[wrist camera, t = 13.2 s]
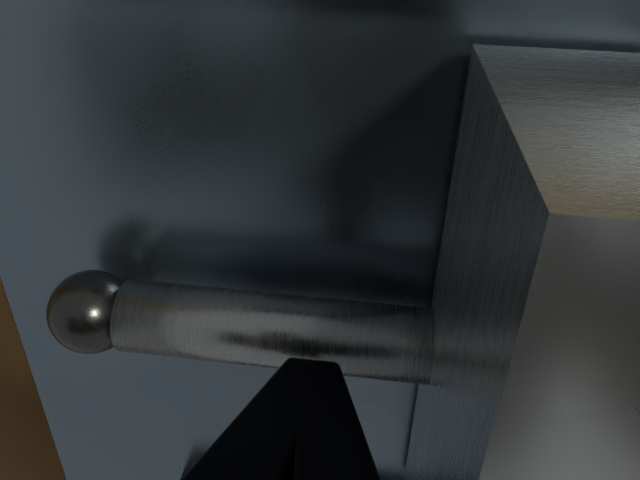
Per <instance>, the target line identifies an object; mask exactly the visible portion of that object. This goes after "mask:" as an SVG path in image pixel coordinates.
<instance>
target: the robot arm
mask: <svg viewBox="0 0 640 480" xmlns="http://www.w3.org/2000/svg"><path fill="white" fill-rule="evenodd" d="M181 480H381V479H380V476H379V473H378V471H377V468H376V465H375V462H374V460H373V457H372V454H371V451H370V448H369V446H368V443H367V440H366V437H365V434H364V432H363V429H362V426H361V423H360V421H359V418H358V415H357V412H356V409H355V407H354V404H353V401H352V398H351V395H350V393H349V390H348V387H347V384H346V382H345V379H344V376H343V373H342V370H341V368H340V366H339V364H338V363H337V362H333V361H324V360H313V359H305V358H295V357H291V358H288V359H287V360H286V361H285V362H284V363H283V364H282V365H281V366H280V368H279V369H278V370H277V371H276V372H275V373H274V374H273V376H272V377H271V378H270V379H269V380H268V381H267V382H266V384H265V385H264V386H263V387H262V388H261V389H260V390H259V392H258V393H257V394H256V395H255V396H254V397H253V398H252V400H251V401H250V402H249V403H248V404H247V405H246V406H245V407H244V409H243V410H242V411H241V412H240V413H239V414H238V415H237V417H236V418H235V419H234V420H233V421H232V422H231V423H230V425H229V426H228V427H227V428H226V429H225V430H224V431H223V433H222V434H221V435H220V436H219V437H218V438H217V439H216V441H215V442H214V443H213V444H212V445H211V446H210V447H209V449H208V450H207V451H206V452H205V453H204V454H203V455H202V456H201V458H200V459H199V460H198V461H197V462H196V463H195V464H194V466H193V467H192V468H191V469H190V470H189V471H188V472H187V474H186V475H185V476H184V477H183V478H182V479H181Z"/></svg>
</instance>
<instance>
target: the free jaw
mask: <svg viewBox="0 0 640 480" xmlns="http://www.w3.org/2000/svg"><path fill="white" fill-rule="evenodd" d="M46 319H47V324H48V327H49V330H50V332H51V334H52V335H53V337H54V338H55V339H56V340H57V341H58V342H59V343H60V344H61V345H62V346H64V347H65V348H67V349H69V350H71V351H74V352H77V353H82V354H97V353H101V352H105V351H107V350H110V349H112V348H115V349H116V350H117V351H120V352H129V353H138V354H147V355H156V356H166V357H175V358H184V359H193V360H202V361H211V362H221V363H230V364H239V365H248V366H257V367H266V368H276V369H279V368H280V366H281V365H282V364H283V363H284V362H285V361H286V360H287V359H288V358H291V357H295V358H305V359H313V360H324V361H333V362H337V363H338V364H339V366H340V368H341V370H342V373H343V376H349V377H358V378H367V379H377V380H386V381H395V382H404V383H413V384H419V386H418V392H417V399H416V405H415V411H414V418H413V424H412V430H411V437H410V443H409V449H408V456H407V462H406V468H405V475H404V480H640V53H631V52H612V51H593V50H574V49H555V48H536V47H517V46H497V45H478V44H473V45H472V51H471V57H470V64H469V70H468V76H467V83H466V89H465V95H464V102H463V108H462V114H461V121H460V127H459V133H458V140H457V146H456V152H455V159H454V165H453V171H452V177H451V184H450V190H449V196H448V203H447V209H446V215H445V222H444V228H443V234H442V241H441V247H440V253H439V260H438V266H437V272H436V279H435V285H434V291H433V298H432V304H431V308H426V307H415V306H405V305H395V304H384V303H374V302H364V301H353V300H343V299H332V298H322V297H312V296H301V295H291V294H280V293H270V292H260V291H249V290H239V289H229V288H218V287H208V286H197V285H187V284H177V283H166V282H156V281H146V280H135V279H129V280H127V281H125V282H124V281H123V280H122V279H120V278H119V277H117V276H116V275H114V274H112V273H109V272H106V271H102V270H85V271H81V272H77V273H75V274H72V275H70V276H69V277H67V278H65V279H64V280H63V281H62V282H61V283H59V284H58V285H57V287H56V288H55V289H54V291H53V292H52V294H51V296H50V298H49V301H48V304H47V309H46Z"/></svg>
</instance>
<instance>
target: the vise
mask: <svg viewBox="0 0 640 480" xmlns="http://www.w3.org/2000/svg"><path fill="white" fill-rule="evenodd" d="M473 44H478V45H497V46H517V47H536V48H555V49H574V50H593V51H612V52H631V53H640V0H0V277H1V280H2V283H3V286H4V289H5V292H6V295H7V298H8V302H9V305H10V308H11V311H12V314H13V317H14V320H15V323H16V326H17V329H18V332H19V335H20V338H21V341H22V344H23V348H24V351H25V354H26V357H27V360H28V363H29V366H30V369H31V372H32V375H33V378H34V381H35V384H36V387H37V391H38V394H39V397H40V400H41V403H42V406H43V409H44V412H45V415H46V418H47V421H48V424H49V427H50V430H51V433H52V437H53V440H54V443H55V446H56V449H57V452H58V455H59V458H60V461H61V464H62V467H63V470H64V473H65V476H66V479H67V480H181V479H182V478H183V477H184V476H185V475H186V474H187V472H188V471H189V470H190V469H191V468H192V467H193V466H194V464H195V463H196V462H197V461H198V460H199V459H200V458H201V456H202V455H203V454H204V453H205V452H206V451H207V450H208V449H209V447H210V446H211V445H212V444H213V443H214V442H215V441H216V439H217V438H218V437H219V436H220V435H221V434H222V433H223V431H224V430H225V429H226V428H227V427H228V426H229V425H230V423H231V422H232V421H233V420H234V419H235V418H236V417H237V415H238V414H239V413H240V412H241V411H242V410H243V409H244V407H245V406H246V405H247V404H248V403H249V402H250V401H251V400H252V398H253V397H254V396H255V395H256V394H257V393H258V392H259V390H260V389H261V388H262V387H263V386H264V385H265V384H266V382H267V381H268V380H269V379H270V378H271V377H272V376H273V374H274V373H275V372H276V371H277V370H278V369H276V368H266V367H257V366H248V365H239V364H230V363H221V362H211V361H202V360H193V359H184V358H175V357H166V356H156V355H147V354H138V353H129V352H120V351H117V350H116V349H115V348H112V349H110V350H107V351H105V352H101V353H97V354H82V353H77V352H74V351H71V350H69V349H67V348H65V347H64V346H62V345H61V344H60V343H59V342H58V341H57V340H56V339H55V338H54V337H53V335H52V334H51V332H50V330H49V327H48V324H47V319H46V309H47V304H48V301H49V298H50V296H51V294H52V292H53V291H54V289H55V288H56V287H57V285H58V284H59V283H61V282H62V281H63V280H64V279H65V278H67V277H69V276H70V275H72V274H75V273H77V272H81V271H85V270H102V271H106V272H109V273H112V274H114V275H116V276H117V277H119V278H120V279H122V280H123V281H124V282H125V281H127V280H129V279H135V280H146V281H156V282H166V283H177V284H187V285H197V286H208V287H218V288H229V289H239V290H249V291H260V292H270V293H280V294H291V295H301V296H312V297H322V298H332V299H343V300H353V301H364V302H374V303H384V304H395V305H405V306H415V307H426V308H431V304H432V298H433V291H434V285H435V279H436V272H437V266H438V260H439V253H440V247H441V241H442V234H443V228H444V222H445V215H446V209H447V203H448V196H449V190H450V184H451V177H452V171H453V165H454V159H455V152H456V146H457V140H458V133H459V127H460V121H461V114H462V108H463V102H464V95H465V89H466V83H467V76H468V70H469V64H470V57H471V51H472V45H473ZM344 379H345V382H346V384H347V387H348V390H349V393H350V395H351V398H352V401H353V404H354V407H355V409H356V412H357V415H358V418H359V421H360V423H361V426H362V429H363V432H364V434H365V437H366V440H367V443H368V446H369V448H370V451H371V454H372V457H373V460H374V462H375V465H376V468H377V471H378V473H379V476H380V479H381V480H404V475H405V468H406V462H407V456H408V449H409V443H410V437H411V430H412V424H413V418H414V411H415V405H416V399H417V392H418V386H419V384H413V383H404V382H395V381H386V380H377V379H367V378H358V377H349V376H344Z"/></svg>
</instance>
